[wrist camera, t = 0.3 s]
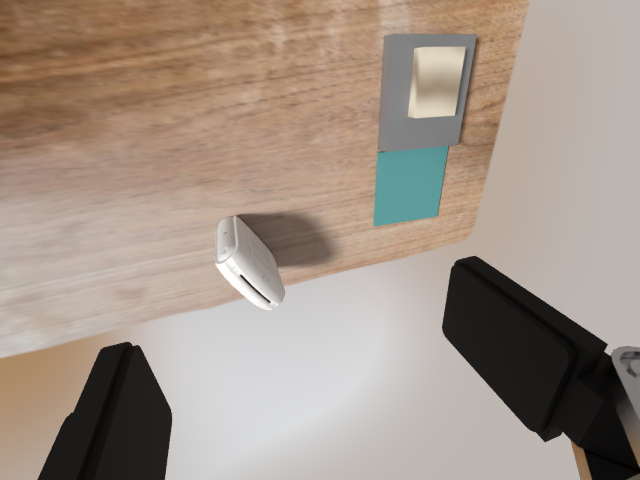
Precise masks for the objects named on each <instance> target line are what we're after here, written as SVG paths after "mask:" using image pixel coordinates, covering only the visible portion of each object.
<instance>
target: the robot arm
mask: <svg viewBox="0 0 640 480" xmlns="http://www.w3.org/2000/svg"><path fill="white" fill-rule="evenodd" d="M442 330H443V333H444V335H445V337H446V338H447V339H448V340H449V342H450V343H451V344H452V345H453V346H454V347H455V348H456V349H457V350H458V352H459V353H460V354H461V355H462V356H463V357H464V358H465V359H466V361H467V362H468V363H469V364H470V365H471V366H472V367H473V368H474V369H475V370H476V372H477V373H478V374H479V375H480V376H481V377H482V378H483V379H484V380H485V381H486V383H487V384H488V385H489V386H490V387H491V388H492V389H493V391H494V392H495V393H496V394H497V395H498V396H499V397H500V398H501V399H502V400H503V402H504V403H505V404H506V405H507V406H508V407H509V408H510V409H511V411H512V412H513V413H514V414H515V415H516V416H517V417H518V418H519V419H520V420H521V422H522V423H523V424H524V425H525V426H526V427H527V428H528V429H529V430H531V431H533V432H536V433H537V434H538V435H539V436H540V437H541V438H542V439H543V441H544V442H547V441H549V440H551V439H553V438H556V437H558V436H560V435H561V434H562V432H564V433H565V434H566V435H567V436H568V437H569V438H570V440H571V443H572V448H573V451H574V455H575V459H576V463H577V467H578V471H579V475H580V479H581V480H640V348H639V347H631V346H625V347H619V348H617V349H615V350H613V352H612V354H611V356H609V355H608V354H606V353H605V352H604V350H605V349H606V347H607V345H608V344H607V343H605V342H604V341H602V340H601V339H599V338H598V337H596V336H595V335H593V334H592V333H590V332H589V331H587V330H586V329H584V328H583V327H581V326H580V325H578V324H577V323H575V322H574V321H572V320H571V319H569V318H568V317H566V316H565V315H563V314H562V313H560V312H559V311H557V310H556V309H555V308H553V307H551V306H550V305H549V304H547V303H546V302H544V301H542V300H541V299H540V298H538V297H537V296H535V295H534V294H532V293H531V292H529V291H528V290H526V289H525V288H523V287H522V286H520V285H519V284H517V283H516V282H514V281H513V280H511V279H510V278H508V277H507V276H505V275H504V274H502V273H501V272H499V271H498V270H496V269H495V268H493V267H492V266H490V265H489V264H487V263H486V262H484V261H483V260H481V259H480V258H478V257H476V256H472V257H467V258H463V259H459V260H457V261H456V262H455V264H454V266H453V267H452V268H451V273H450V280H449V286H448V292H447V299H446V305H445V312H444V318H443V324H442ZM171 427H172V413H171V409H170V407H169V405H168V403H167V401H166V398H165V396H164V394H163V392H162V390H161V388H160V386H159V384H158V382H157V380H156V378H155V376H154V374H153V372H152V370H151V368H150V366H149V364H148V362H147V360H146V358H145V356H144V353H143V351H142V349H141V348H140V346H138V345H136V346H132V344H131V343H130V342H124V343H120V344H116V345H112V346H108V347H104V348H103V349H101V350H100V352H99V354H98V356H97V359H96V361H95V363H94V366H93V368H92V370H91V373H90V375H89V377H88V380H87V382H86V384H85V387H84V389H83V391H82V393H81V396H80V398H79V400H78V403H77V405H76V407H75V410H74V412H73V413H71V414H70V415H69V416H68V417H67V418H66V419H65V421H64V423H63V424H62V426H61V428H60V431H59V433H58V435H57V437H56V440H55V442H54V444H53V446H52V449H51V451H50V453H49V455H48V457H47V460H46V462H45V464H44V467H43V469H42V471H41V473H40V475H39V478H38V480H165V474H166V466H167V457H168V450H169V441H170V434H171Z"/></svg>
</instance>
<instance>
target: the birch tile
mask: <svg viewBox="0 0 640 480" xmlns="http://www.w3.org/2000/svg"><path fill="white" fill-rule="evenodd" d="M465 49H466V47H420V48H414V58H413V69H412V79H411V90H410V100H409V111H408V117H411V118H427V117H441V116H455V111H456V105H457V98H458V92H459V86H460V80H461V74H462V67H463V61H464V55H465Z"/></svg>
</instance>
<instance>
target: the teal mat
mask: <svg viewBox="0 0 640 480" xmlns="http://www.w3.org/2000/svg"><path fill="white" fill-rule="evenodd" d="M447 151H448V146H443V147H433V148H423V149H413V150H403V151H393V152H378V157H377V175H376V192H375V210H374V226H379V225H386V224H392V223H398V222H404V221H410V220H416V219H423V218H429V217H435V216H437V214H438V208H439V202H440V195H441V189H442V183H443V176H444V170H445V164H446V158H447Z"/></svg>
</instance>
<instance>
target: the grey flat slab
mask: <svg viewBox="0 0 640 480" xmlns="http://www.w3.org/2000/svg"><path fill="white" fill-rule="evenodd" d="M476 36H477V34H392V35H389V36H385V37H384V50H383V68H382V85H381V103H380V121H379V139H378V149H379V150H382V151H384V152H393V151H403V150H413V149H423V148H433V147H443V146H453V145H458V141H459V135H460V129H461V124H462V118H463V112H464V106H465V100H466V95H467V89H468V83H469V77H470V71H471V66H472V60H473V54H474V48H475V42H476ZM420 47H466V49H465V55H464V61H463V67H462V74H461V80H460V86H459V92H458V98H457V105H456V111H455V116H441V117H427V118H411V117H408V111H409V100H410V90H411V79H412V69H413V58H414V48H420Z"/></svg>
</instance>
